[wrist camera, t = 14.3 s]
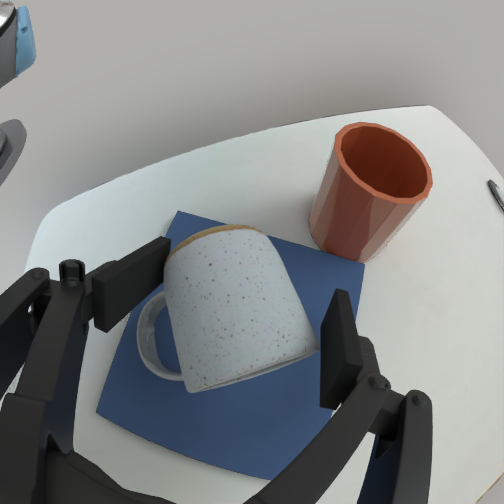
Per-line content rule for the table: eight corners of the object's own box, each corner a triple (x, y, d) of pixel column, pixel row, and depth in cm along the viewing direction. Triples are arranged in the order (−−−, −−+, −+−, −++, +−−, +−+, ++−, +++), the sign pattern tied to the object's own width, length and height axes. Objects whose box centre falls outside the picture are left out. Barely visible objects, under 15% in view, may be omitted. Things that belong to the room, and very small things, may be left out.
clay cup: (300, 250, 26) (327, 180, 17) (316, 185, 29) (339, 111, 20) (380, 273, 25) (436, 219, 16) (385, 207, 28) (426, 143, 19)
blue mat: (100, 411, 19) (95, 412, 18) (179, 215, 27) (177, 210, 26) (303, 482, 17) (305, 486, 16) (361, 268, 25) (365, 264, 24)
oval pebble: (484, 182, 32) (487, 177, 31) (491, 182, 32) (494, 177, 31) (503, 214, 29) (507, 209, 28) (510, 212, 29) (514, 208, 28)
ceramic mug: (264, 255, 22) (272, 196, 15) (306, 357, 19) (340, 345, 12) (133, 298, 20) (83, 258, 13) (162, 404, 17) (115, 416, 10)
